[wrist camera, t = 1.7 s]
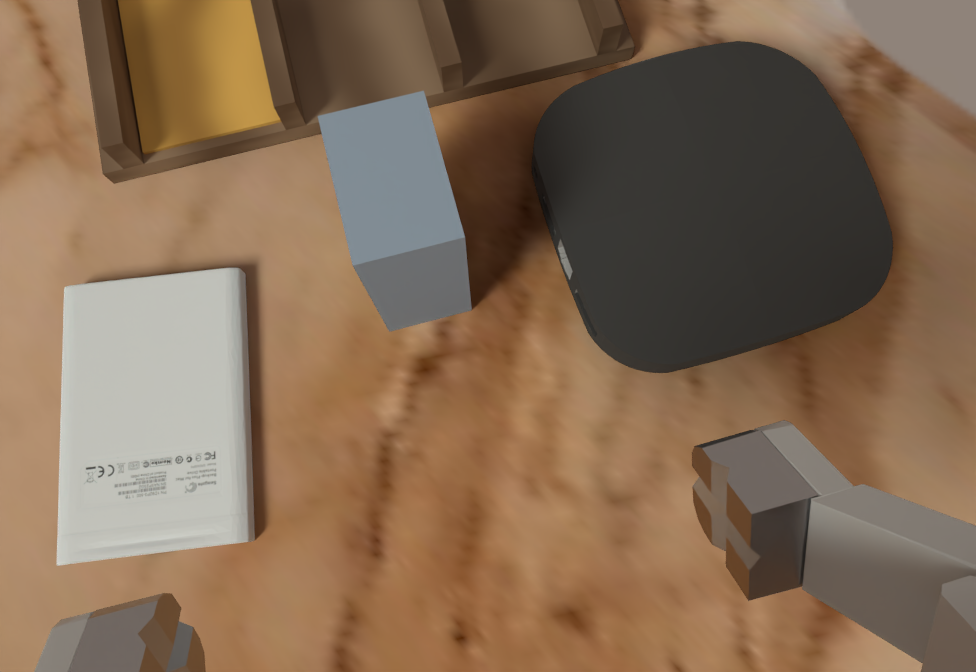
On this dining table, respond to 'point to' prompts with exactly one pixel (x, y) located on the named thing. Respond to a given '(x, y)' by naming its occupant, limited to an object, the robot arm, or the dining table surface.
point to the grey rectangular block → (398, 209)
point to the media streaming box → (708, 205)
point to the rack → (311, 65)
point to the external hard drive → (155, 416)
